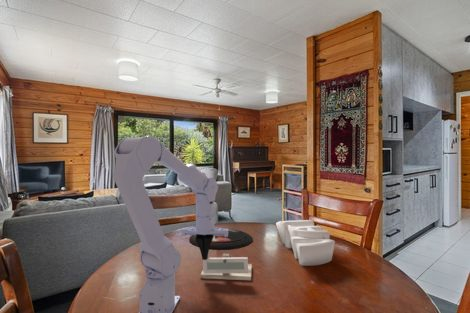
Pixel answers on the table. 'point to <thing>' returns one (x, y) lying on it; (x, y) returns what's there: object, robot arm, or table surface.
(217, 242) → the wall clock
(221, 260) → the frame
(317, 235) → the white wavy slab sculpture
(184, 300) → the table surface
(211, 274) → the easel stand
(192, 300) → the table surface
